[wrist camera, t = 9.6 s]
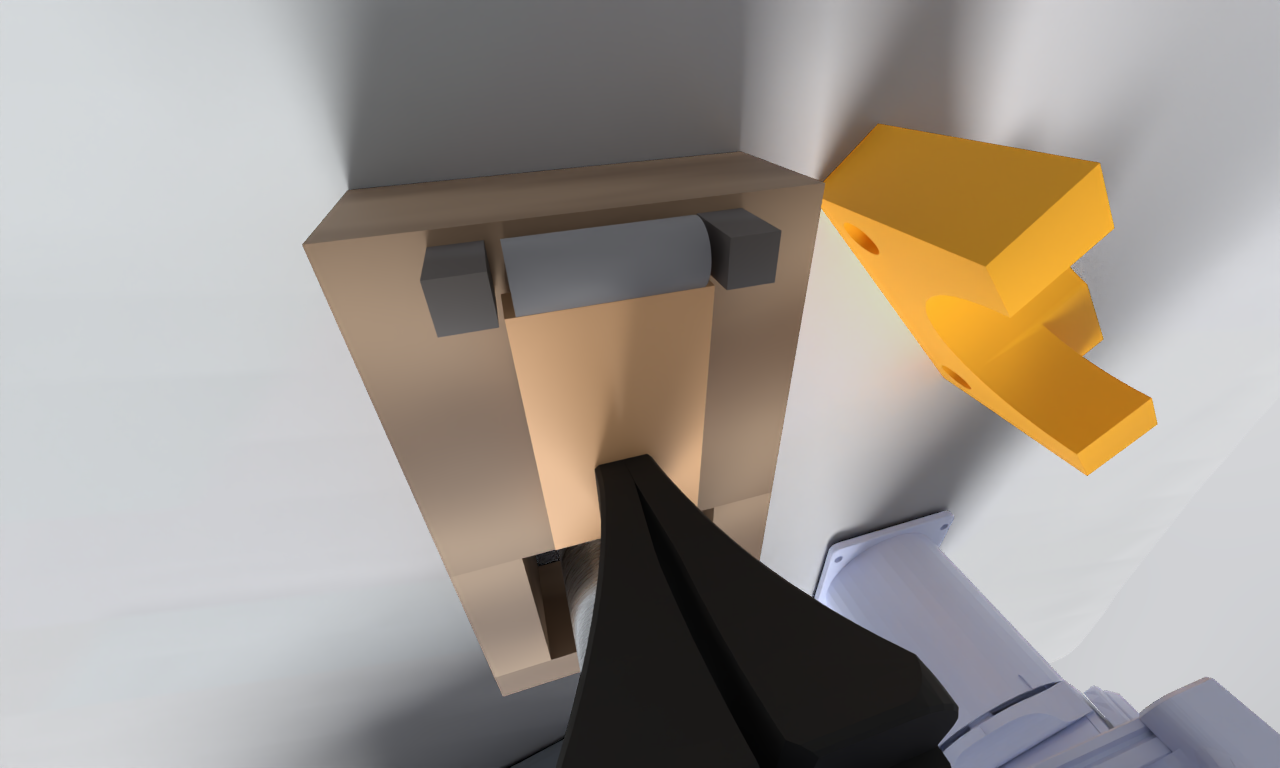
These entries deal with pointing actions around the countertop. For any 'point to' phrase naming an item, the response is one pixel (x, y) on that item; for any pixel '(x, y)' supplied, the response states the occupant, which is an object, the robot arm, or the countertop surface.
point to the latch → (610, 355)
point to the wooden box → (486, 376)
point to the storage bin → (542, 758)
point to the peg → (581, 588)
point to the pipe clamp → (993, 277)
